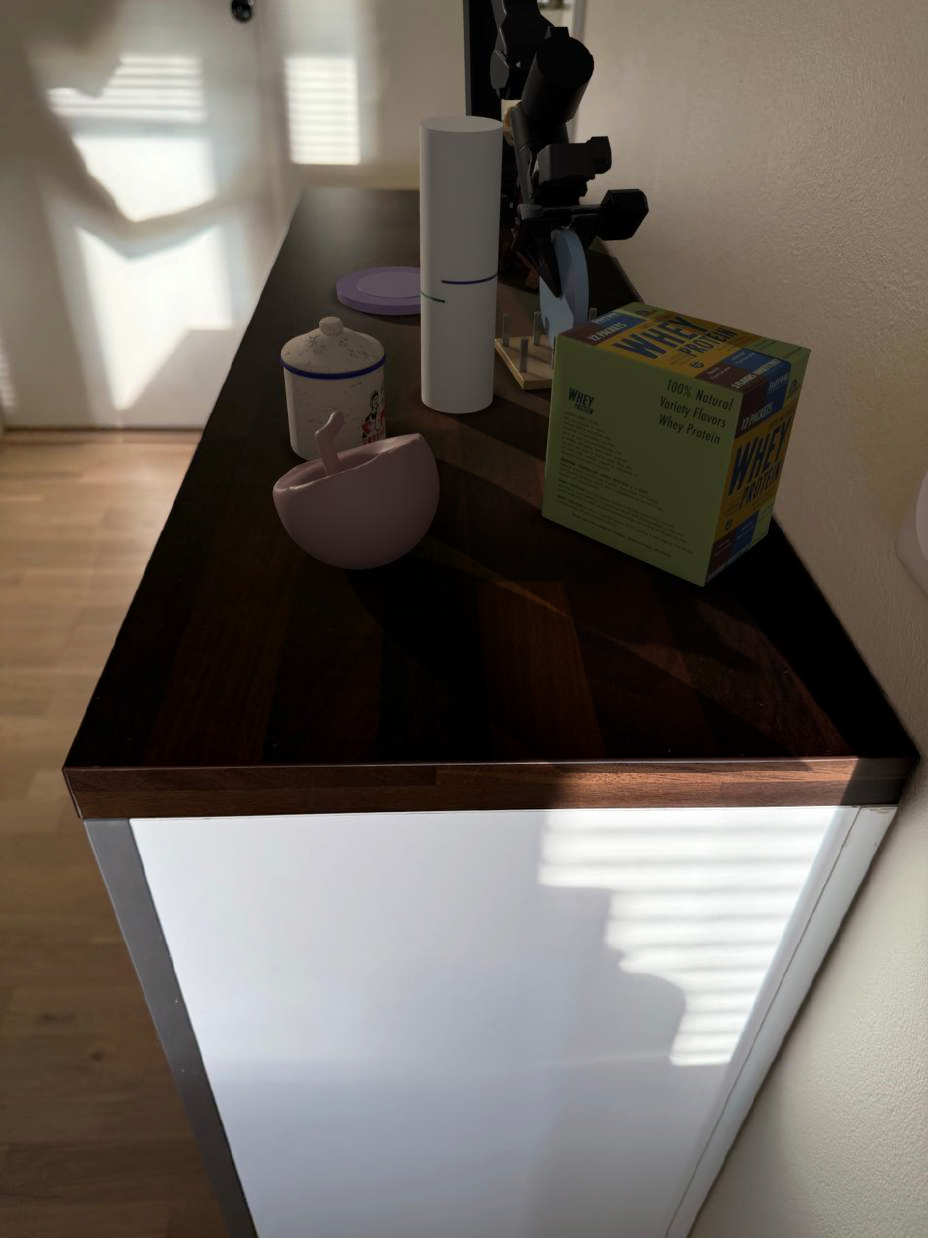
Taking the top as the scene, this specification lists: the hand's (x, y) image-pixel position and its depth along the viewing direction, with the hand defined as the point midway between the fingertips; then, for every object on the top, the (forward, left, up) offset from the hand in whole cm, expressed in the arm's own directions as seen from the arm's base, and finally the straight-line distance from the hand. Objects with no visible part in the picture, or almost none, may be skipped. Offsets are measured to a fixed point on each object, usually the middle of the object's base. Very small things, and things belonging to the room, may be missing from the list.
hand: (566, 295), depth 100 cm
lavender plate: (-19, -23, -8) cm, 31 cm away
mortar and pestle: (+40, -12, -8) cm, 42 cm away
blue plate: (-1, -1, 0) cm, 1 cm away
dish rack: (-1, -1, -8) cm, 8 cm away
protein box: (+31, +10, -8) cm, 33 cm away
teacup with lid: (+21, -19, -8) cm, 29 cm away
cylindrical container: (+10, -10, -8) cm, 16 cm away
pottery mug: (-29, -8, -8) cm, 31 cm away
